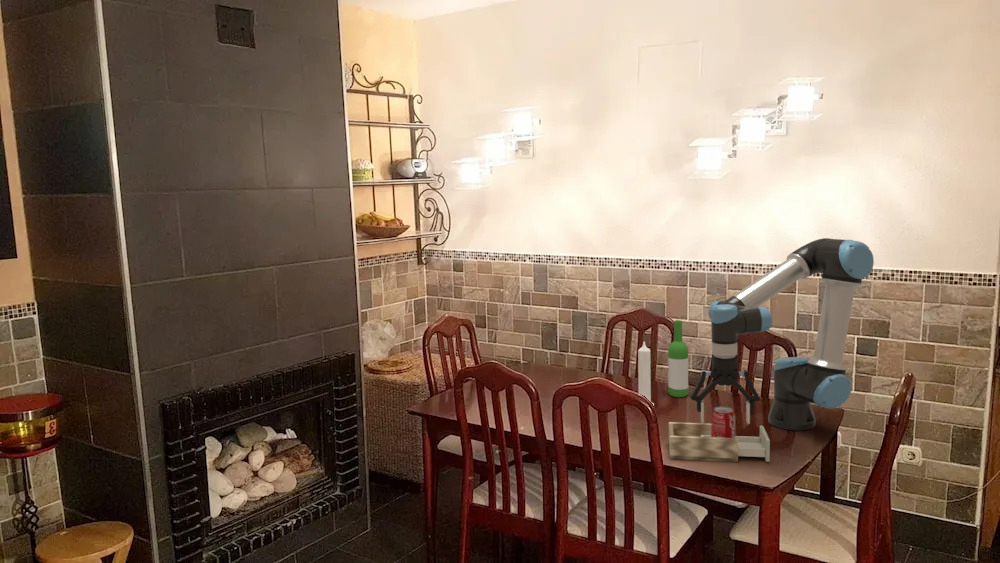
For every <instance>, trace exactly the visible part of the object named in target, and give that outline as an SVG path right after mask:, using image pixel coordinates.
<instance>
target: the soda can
mask: <svg viewBox="0 0 1000 563" xmlns="http://www.w3.org/2000/svg"><path fill="white" fill-rule="evenodd" d="M710 424H711V437H719V438H735V436H736V414H735V413H734V409H733V408H732V407H731V406H730V407H729V406H722V405H721V406H715V407H713V411H712V413H711V423H710Z"/></svg>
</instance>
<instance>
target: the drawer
mask: <svg viewBox="0 0 1000 563" xmlns="http://www.w3.org/2000/svg"><path fill="white" fill-rule="evenodd" d="M701 437H711V435H701ZM735 438H738V457H754V458H755V457H756V458H764V460H765V462H767V463H768V462H769V463H770V462H771V461H770V460H771V459H770V455H771V454H770V453H771V447H770V446H771V445H770V444H771V441H770V438H769V435H768V433H767V431H766V429H765V427H764V425H759V436H748V435H747V436H746V435H745V436H744V435H735Z"/></svg>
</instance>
